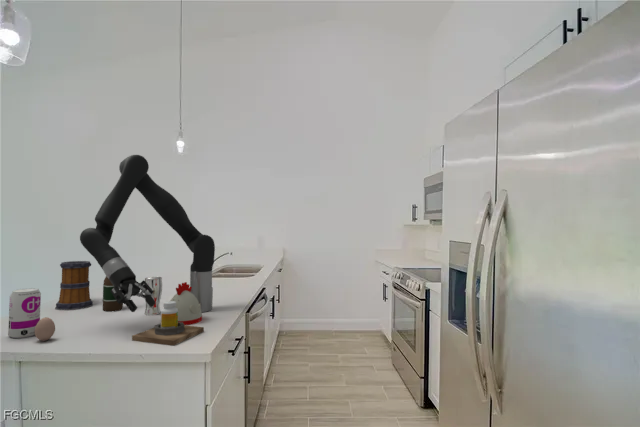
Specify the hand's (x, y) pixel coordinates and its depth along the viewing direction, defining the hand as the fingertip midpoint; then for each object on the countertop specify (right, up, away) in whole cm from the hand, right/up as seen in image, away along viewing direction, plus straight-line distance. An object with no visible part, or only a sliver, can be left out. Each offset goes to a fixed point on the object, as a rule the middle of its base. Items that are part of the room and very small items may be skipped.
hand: (144, 307), depth 128 cm
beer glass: (-9, -10, +27) cm, 30 cm away
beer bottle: (-29, -9, +33) cm, 45 cm away
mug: (-50, -9, +40) cm, 65 cm away
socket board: (+10, -9, -3) cm, 14 cm away
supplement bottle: (+10, -7, -3) cm, 13 cm away
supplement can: (-38, -8, -4) cm, 39 cm away
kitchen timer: (+7, -10, +16) cm, 20 cm away
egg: (-27, -8, -10) cm, 30 cm away
